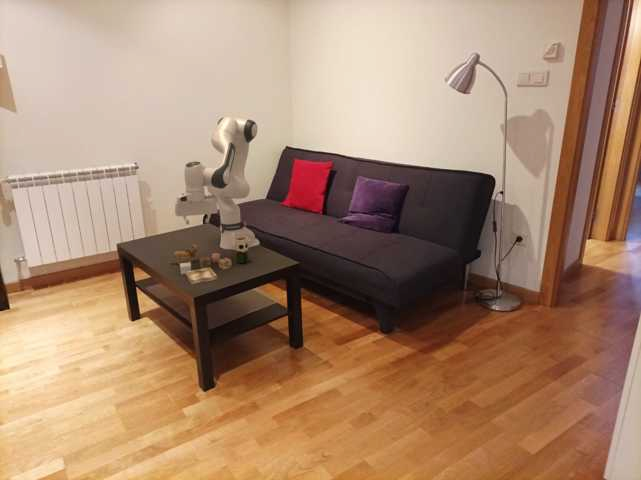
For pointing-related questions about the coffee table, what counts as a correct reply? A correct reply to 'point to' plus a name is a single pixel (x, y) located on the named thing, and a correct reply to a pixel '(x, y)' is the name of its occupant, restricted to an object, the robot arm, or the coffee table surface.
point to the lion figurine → (185, 254)
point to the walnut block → (205, 262)
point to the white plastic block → (185, 267)
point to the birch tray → (201, 275)
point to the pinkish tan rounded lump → (215, 257)
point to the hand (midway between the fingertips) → (197, 223)
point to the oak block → (225, 263)
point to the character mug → (241, 248)
